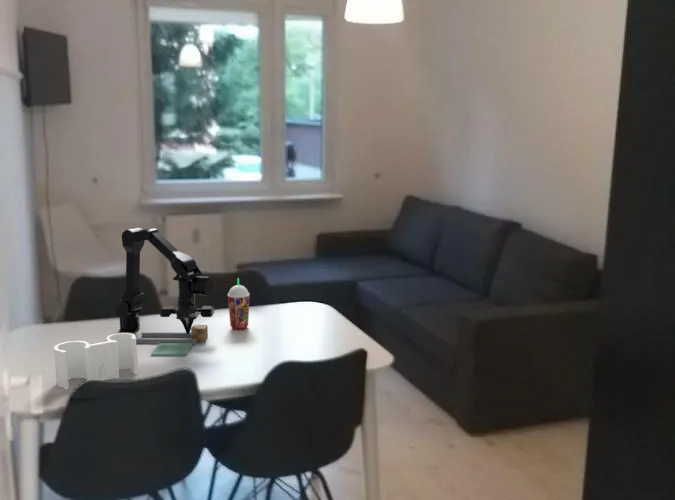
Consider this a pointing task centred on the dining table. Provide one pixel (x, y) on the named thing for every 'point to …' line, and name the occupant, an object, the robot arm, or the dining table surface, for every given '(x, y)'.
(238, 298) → the smoothie
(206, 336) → the tan block
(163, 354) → the mat
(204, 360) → the dining table surface
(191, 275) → the robot arm
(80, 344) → the bracket
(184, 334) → the channel
